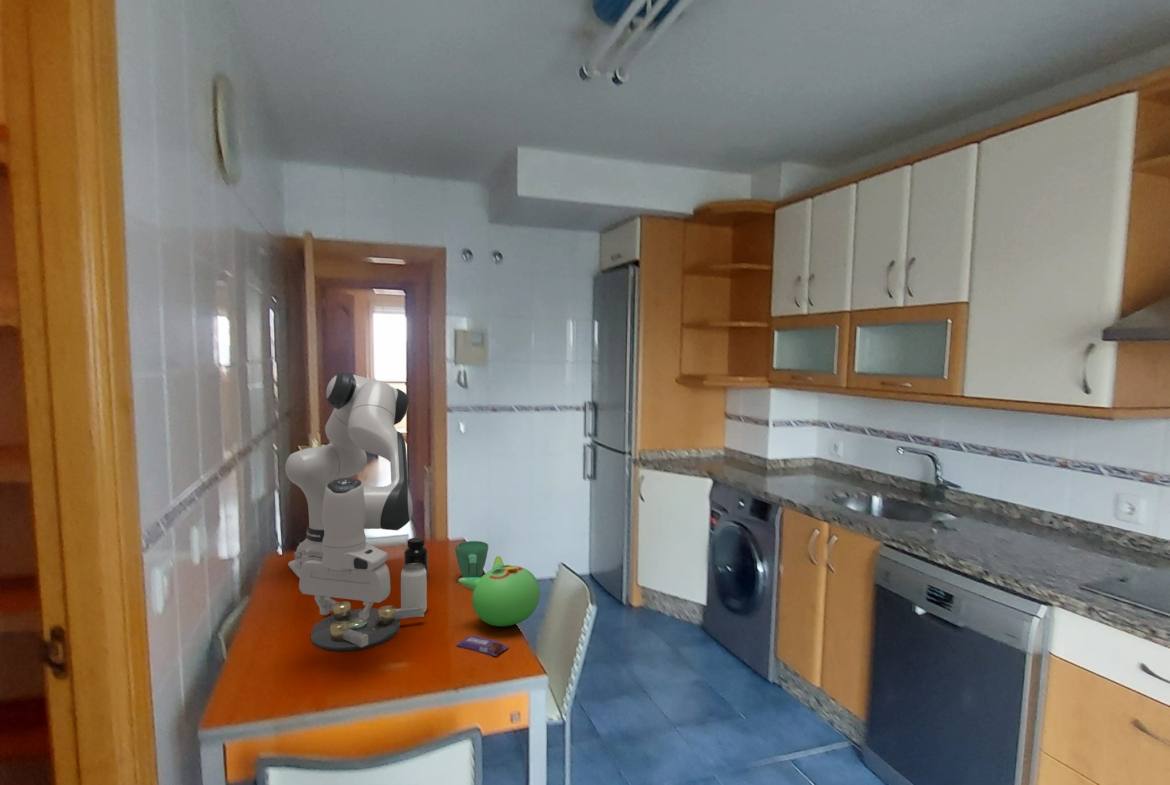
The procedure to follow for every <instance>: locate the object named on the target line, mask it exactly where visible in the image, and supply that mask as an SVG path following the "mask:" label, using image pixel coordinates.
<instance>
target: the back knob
mask: <svg viewBox="0 0 1170 785" xmlns="http://www.w3.org/2000/svg"><path fill="white" fill-rule="evenodd" d="M324 598H325V600H326V603H327V605H330V612H332V613H333V615H334V619H336V620H343V619H347V618H349V617H350V616H351V610H352V607H351V606H352V604H351V602H350V601H345V600H344V601H337V600H334V598H332V597H324Z"/></svg>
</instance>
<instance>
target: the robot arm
mask: <svg viewBox="0 0 1170 785" xmlns="http://www.w3.org/2000/svg"><path fill="white" fill-rule="evenodd" d="M325 393H326V399H325V400H326V402H327V403H328V405H329V406H331V407H332V408H333V410H332V412H331V414H330V415H329V418H328V420H327V422H326V424H325V427H324V431H325V436H326V439H327V440H329V441H330V442H329V443H328V444H326V445H321V446H315V447H305V448H303V449H300V450H297V451H295V452H293V453H291V454H290V455H289V456H288V457H287V460H286V462H285V467H284V469H285V475H286V477H287V479H288V480H289V481H290V482H291V483H292V484H294V485H296V486H297V487H298V488H300V490H301V491H302V492H303V494H304V497H305V498H306V503H307V508H308V509H307V510H308V523H309V524H308V525H307V526H306V536H305V539H304V540H303V541H302V542H301V543H300V544H298V545H297V547H296V551H294V553H293V557H294V559H293V560H290V561H289V562H288V567H289V568H290V570H291V571H292V573H294V574H295V575H296V577H297V578H299V584H298V589H299V591H300V592H301V594H302V595H309V596H310V595H311V596H314V600H315V602H316V605H317V606H318V608H319V615H322V616H328V615H329V614H331V610H330V605H327V603H326V600H325V598H324V597H331V598H336V599H343V600H344V599H345V600H346V599H347V600H352V601H353V600H354V601H361V602H362V603H363V604H362V605H363V606H364V608H361V609H362V611H360V612H359V619H360V620H367V619H368V618H369V610H370V609H372V606H373V605H374V603H378V604H380V603H382V602H383V601H385V600H386V599H387V598H388V597H389V596H390V594H391V577H390V576H391V575H390V574H391V573H390V570H389V567H388V566H387V564H386V562H387V560H388V553H387V552H386V551H384V550H382V549H379V548H377V547H375V546H373V545H371V544H369V543H368V542H367V537H366V533H365V530H369V529H370V530H373V529H374V530H387V531H388V530H389V531H399V530H400V529H403V527H405V526H406V525H407V524H408V523H409V522H410V521H411V518H412V516H413V509H414V508H413V505H414V504H413V499H412V496H411V492H410V484H409V482H410V480H409V468H408V456H407V455H408V454H407V447H406V441H405V437H404V435H403V433H402V432H400V431H399V430H397V429H396V427H395V426H396V425H397V424H400V423H401V422H402V421H403V419H404V418H405V416H406V415H407V412H408V409H409V397H408V395H407V393H406V392H404V391H403V390H402V389H399V388H395V387H393V386H392V385H390V384H389V383H387V382H385V381H382V380H377V379H371V378H368V377H365V376H361V375H357V374H354V373H353V372H348V371H340V372H337V373H336V374H335V375H334V377H332V378H331V380H330V381H329V382H328V384H327V387H326V392H325ZM366 452H367V453H369V454H373V455H376V456H379V457H381V458H384V459H385V460H387V461H388V462H389V464H390V480H391V481H390V482H391V483H390V484H388V485H385V486H364V484H363V482H362V481H361V480H360V479H358V478H354V476H355V475H358V474H359V473H360V474H361V473H362V472H363V471H364V470H365V469H366V466H367V462H368V456H367V453H366Z"/></svg>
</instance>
